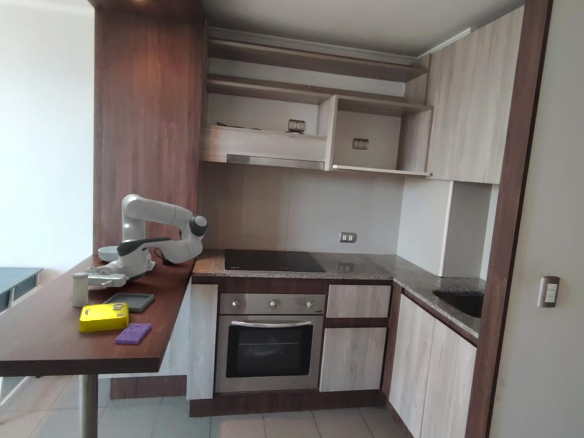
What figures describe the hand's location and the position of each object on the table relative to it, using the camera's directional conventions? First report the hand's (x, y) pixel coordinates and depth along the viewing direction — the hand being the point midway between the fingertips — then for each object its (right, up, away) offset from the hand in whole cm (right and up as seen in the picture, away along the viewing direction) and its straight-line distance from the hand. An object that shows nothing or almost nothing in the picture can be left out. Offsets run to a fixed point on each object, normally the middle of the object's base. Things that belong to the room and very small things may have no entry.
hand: (90, 285), depth 148 cm
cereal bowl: (-19, +3, +60) cm, 63 cm away
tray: (+15, -7, -1) cm, 17 cm away
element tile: (+15, -10, -18) cm, 25 cm away
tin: (-2, -6, -4) cm, 8 cm away
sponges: (+28, -12, -26) cm, 40 cm away
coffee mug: (+9, +1, +62) cm, 63 cm away
